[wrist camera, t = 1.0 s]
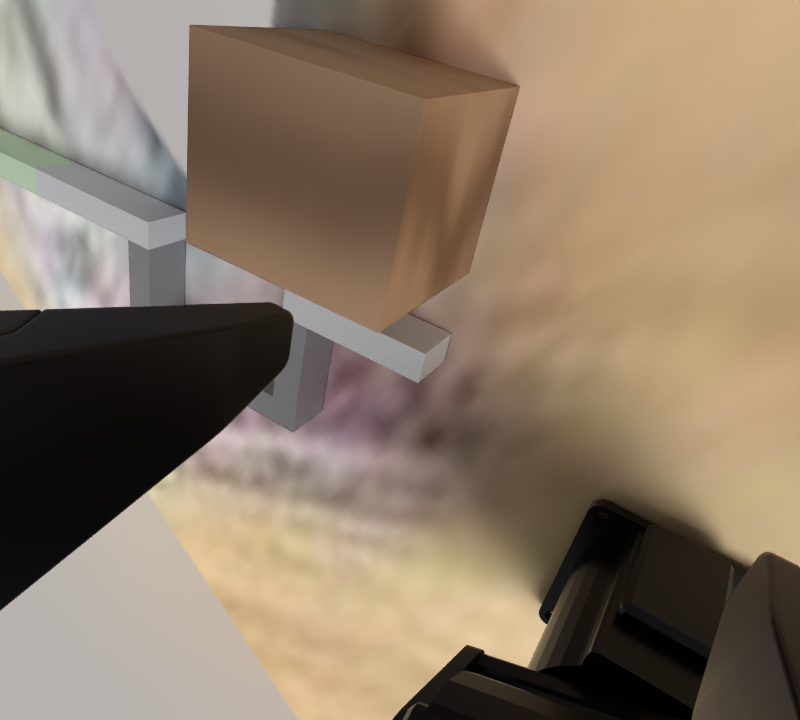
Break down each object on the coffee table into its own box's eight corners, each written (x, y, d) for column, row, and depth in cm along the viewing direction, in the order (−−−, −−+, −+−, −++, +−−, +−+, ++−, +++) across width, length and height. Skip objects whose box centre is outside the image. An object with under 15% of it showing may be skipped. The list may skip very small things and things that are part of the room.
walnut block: (470, 272, 22) (377, 333, 17) (306, 204, 24) (185, 242, 20) (521, 86, 19) (425, 99, 14) (326, 29, 21) (189, 24, 16)
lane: (443, 361, 24) (418, 383, 22) (77, 187, 30) (37, 195, 29) (559, -60, 17) (533, -70, 15) (51, -163, 23) (-3, -178, 22)
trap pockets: (322, 410, 28) (292, 432, 26) (95, 287, 33) (59, 299, 31) (442, -336, 16) (402, -378, 14) (52, -356, 21) (-10, -388, 19)
